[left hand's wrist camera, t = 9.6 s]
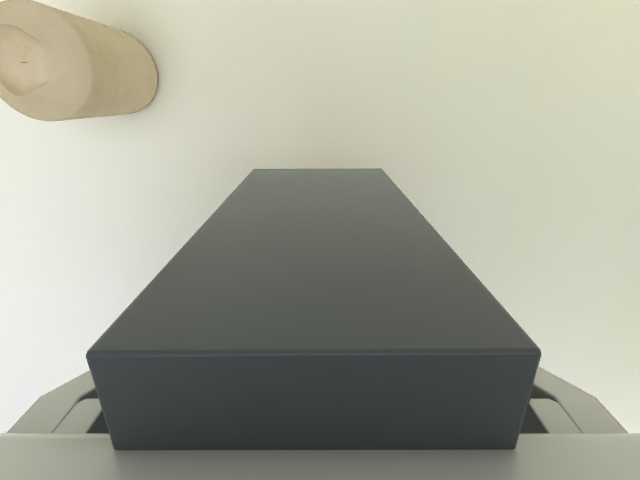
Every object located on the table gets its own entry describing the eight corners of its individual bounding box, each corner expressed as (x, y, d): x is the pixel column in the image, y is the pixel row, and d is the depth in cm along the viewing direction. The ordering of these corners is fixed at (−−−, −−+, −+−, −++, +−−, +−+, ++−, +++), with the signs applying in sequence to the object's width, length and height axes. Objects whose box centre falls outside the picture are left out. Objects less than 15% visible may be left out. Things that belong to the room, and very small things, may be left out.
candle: (156, 121, 27) (75, 135, 18) (79, 103, 27) (-45, 107, 17) (161, 41, 25) (74, 10, 16) (79, 19, 25) (-61, -27, 15)
